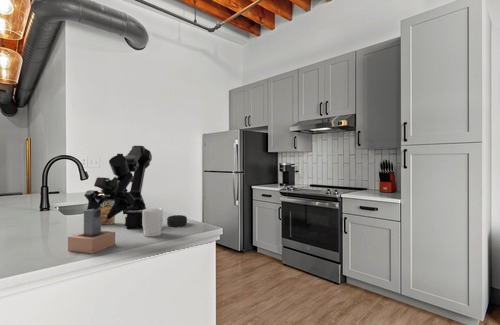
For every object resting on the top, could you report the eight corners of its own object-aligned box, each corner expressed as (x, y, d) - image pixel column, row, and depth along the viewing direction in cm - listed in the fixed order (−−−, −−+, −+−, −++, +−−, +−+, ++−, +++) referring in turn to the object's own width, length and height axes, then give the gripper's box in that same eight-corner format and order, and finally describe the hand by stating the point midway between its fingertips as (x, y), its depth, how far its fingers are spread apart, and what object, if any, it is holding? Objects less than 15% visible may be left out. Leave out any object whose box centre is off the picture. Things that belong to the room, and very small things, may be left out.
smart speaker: (163, 225, 130) (163, 216, 130) (179, 222, 137) (179, 214, 137) (174, 228, 124) (174, 219, 124) (190, 225, 131) (190, 216, 131)
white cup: (166, 233, 115) (167, 209, 115) (152, 238, 108) (152, 212, 108) (152, 231, 118) (152, 207, 118) (137, 235, 111) (137, 210, 111)
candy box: (91, 224, 130) (91, 191, 130) (96, 222, 134) (96, 190, 134) (111, 224, 130) (111, 191, 130) (115, 222, 134) (115, 190, 134)
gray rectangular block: (92, 244, 98) (92, 208, 98) (100, 245, 97) (100, 209, 97) (83, 247, 95) (83, 210, 95) (92, 248, 94) (92, 211, 94)
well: (92, 242, 102) (92, 229, 102) (115, 244, 99) (115, 231, 99) (67, 250, 93) (67, 236, 93) (91, 253, 90) (91, 239, 90)
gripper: (88, 168, 105) (61, 202, 95) (129, 169, 100) (105, 205, 90) (105, 187, 113) (81, 220, 103) (144, 189, 108) (123, 224, 97)
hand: (96, 217), depth 98 cm, fingers open, 9 cm apart
